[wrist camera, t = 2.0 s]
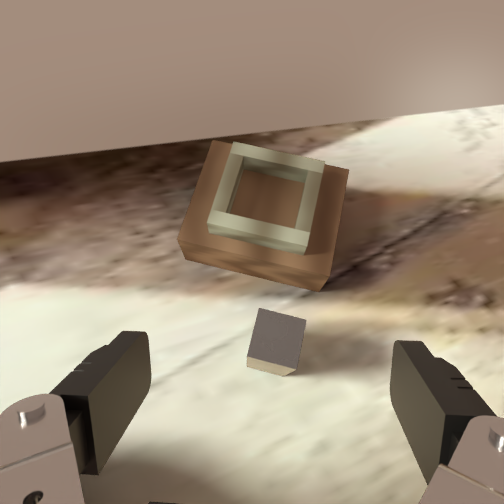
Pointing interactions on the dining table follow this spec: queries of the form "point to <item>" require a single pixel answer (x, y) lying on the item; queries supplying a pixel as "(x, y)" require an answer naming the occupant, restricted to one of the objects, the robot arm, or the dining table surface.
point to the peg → (275, 342)
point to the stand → (265, 214)
